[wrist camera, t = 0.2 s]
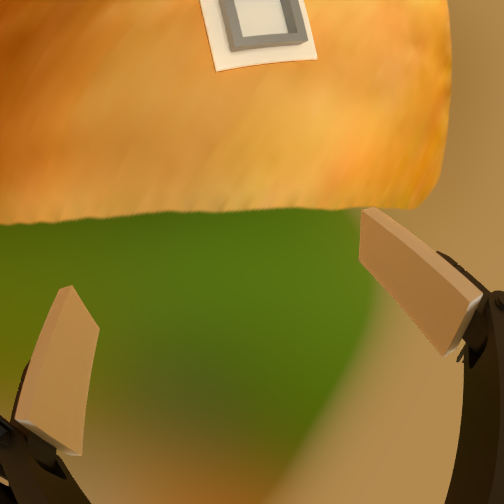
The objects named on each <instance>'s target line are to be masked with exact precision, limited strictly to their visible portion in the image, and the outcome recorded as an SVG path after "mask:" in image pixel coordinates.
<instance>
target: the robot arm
mask: <svg viewBox="0 0 504 504" xmlns="http://www.w3.org/2000/svg"><path fill="white" fill-rule="evenodd" d="M359 262H360V263H361V264H362V265H363V266H364V267H365V268H366V269H367V270H368V271H369V272H370V273H371V274H372V275H373V276H374V278H375V279H376V280H377V281H378V282H379V283H380V284H381V285H382V286H383V287H384V289H385V290H386V291H387V292H388V293H389V294H390V295H391V296H392V297H393V299H394V300H395V301H396V302H397V303H398V304H399V305H400V307H401V308H402V309H403V310H404V311H405V312H406V313H407V314H408V316H409V317H410V318H411V319H412V320H413V322H414V323H415V324H416V325H417V326H418V328H419V329H420V330H421V331H422V332H423V333H424V335H425V336H426V337H427V339H428V340H429V341H430V342H431V343H432V345H433V346H434V347H435V348H436V350H437V351H438V352H439V354H440V355H441V356H442V357H445V356H446V355H448V354H449V353H451V352H452V351H454V350H455V349H456V348H457V346H458V345H459V343H460V341H461V339H462V338H463V340H464V341H465V342H466V343H465V345H464V347H463V349H462V350H461V352H460V354H459V356H458V357H457V361H456V362H459V361H460V359H461V358H462V356H463V355H464V360H463V361H462V363H464V388H463V406H462V417H461V426H460V435H459V441H458V448H457V454H456V459H455V464H454V469H453V474H452V478H451V482H450V486H449V490H448V493H447V497H446V500H445V504H504V292H503V291H494V292H492V293H491V292H489V291H488V290H487V289H486V288H485V287H484V286H483V285H482V284H481V283H480V282H478V281H477V280H476V279H475V278H474V277H473V276H472V275H471V274H469V273H468V272H467V271H465V270H464V268H462V267H461V266H460V265H458V264H457V263H456V262H455V261H454V260H453V259H452V258H450V257H449V256H447V255H445V254H443V253H441V252H439V251H436V252H435V251H434V250H433V249H431V248H430V247H429V246H428V245H426V244H425V243H424V242H422V241H421V240H420V239H419V238H417V237H416V236H415V235H413V234H412V233H411V232H409V231H408V230H406V229H405V228H404V227H403V226H401V225H400V224H398V223H397V222H396V221H394V220H393V219H391V218H390V217H389V216H387V215H386V214H384V213H383V212H382V211H380V210H379V209H377V208H376V207H372V208H367V209H363V210H361V230H360V249H359ZM99 330H100V329H99V327H98V326H97V324H96V323H95V321H94V320H93V318H92V317H91V315H90V314H89V312H88V311H87V309H86V307H85V306H84V304H83V302H82V301H81V299H80V297H79V296H78V294H77V293H76V291H75V289H74V287H73V286H72V285H71V286H68V287H64V288H61V289H59V291H58V293H57V296H56V298H55V300H54V302H53V304H52V307H51V309H50V311H49V314H48V316H47V318H46V321H45V323H44V325H43V328H42V331H41V333H40V336H39V338H38V341H37V343H36V346H35V349H34V352H33V355H32V358H31V359H30V361H29V362H28V364H27V365H26V367H25V369H24V371H23V374H22V377H21V382H20V384H19V388H18V389H19V391H17V395H16V399H15V403H14V407H13V411H12V415H11V420H10V423H9V422H8V421H7V420H6V419H4V418H3V417H2V416H1V415H0V477H2V478H4V479H6V480H8V482H9V486H6V485H4V484H2V483H0V504H91V503H90V501H89V500H88V499H87V497H86V496H85V495H84V493H83V492H82V490H81V489H80V487H79V486H78V484H77V483H76V481H75V480H74V478H73V477H72V475H71V474H70V472H69V471H68V469H67V467H66V466H65V464H64V462H63V461H62V459H61V458H60V457H59V456H58V455H56V449H58V450H60V451H61V452H63V453H65V454H67V455H77V456H82V445H83V431H84V420H85V411H86V402H87V395H88V388H89V382H90V375H91V370H92V364H93V359H94V353H95V348H96V344H97V339H98V334H99Z"/></svg>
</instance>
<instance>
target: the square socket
mask: <svg viewBox="0 0 504 504" xmlns="http://www.w3.org/2000/svg"><path fill="white" fill-rule="evenodd" d="M199 2H200V6H201V10H202V15H203V19H204V23H205V28H206V32H207V36H208V41H209V45H210V49H211V54H212V58H213V62H214V67H215V71H216V72H219V71H224V70H229V69H235V68H241V67H247V66H254V65H261V64H269V63H278V62H289V61H302V60H316V59H317V54H316V49H315V45H314V40H313V36H312V32H311V28H310V24H309V20H308V16H307V12H306V8H305V5H304V1H303V0H199Z"/></svg>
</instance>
